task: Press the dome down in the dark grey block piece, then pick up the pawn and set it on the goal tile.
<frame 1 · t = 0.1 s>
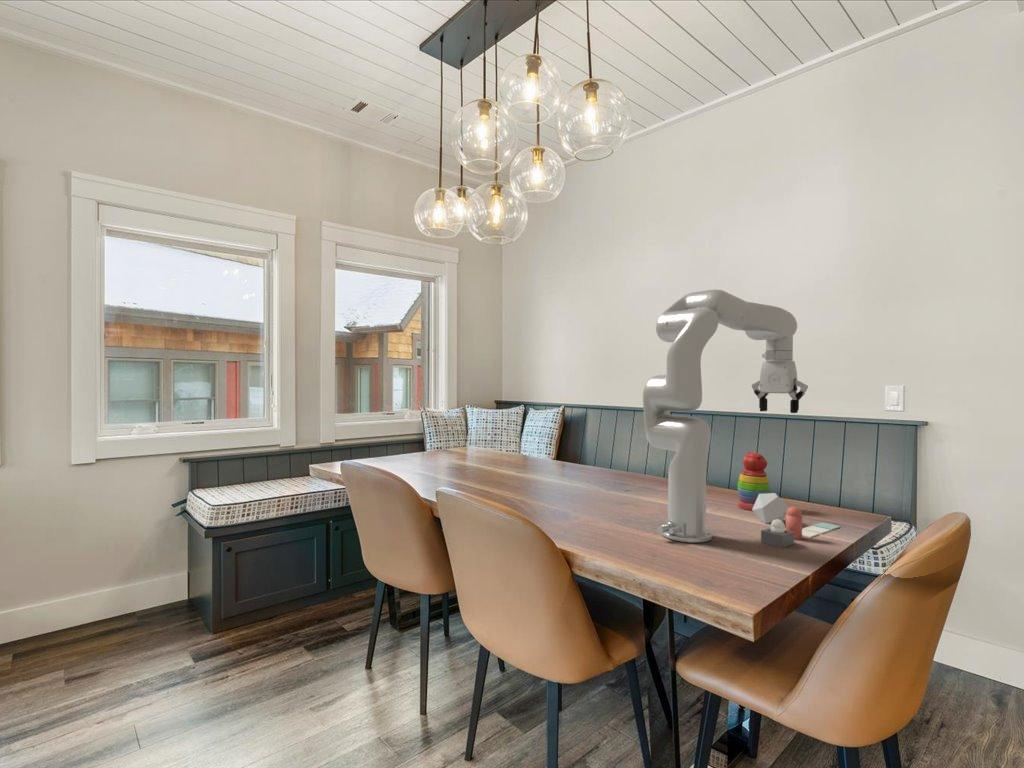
hand: (778, 411, 170), 31 cm above the table, fingers open, 9 cm apart
dark grey block piece: (777, 543, 139), on the table
goal tile: (826, 526, 154), on the table
track: (810, 532, 149), on the table
stacking bear: (754, 508, 176), on the table
pawn: (793, 537, 143), on the table
die: (770, 522, 159), on the table
dome: (777, 526, 139), point 4 cm above the table, slide at 0.0 cm
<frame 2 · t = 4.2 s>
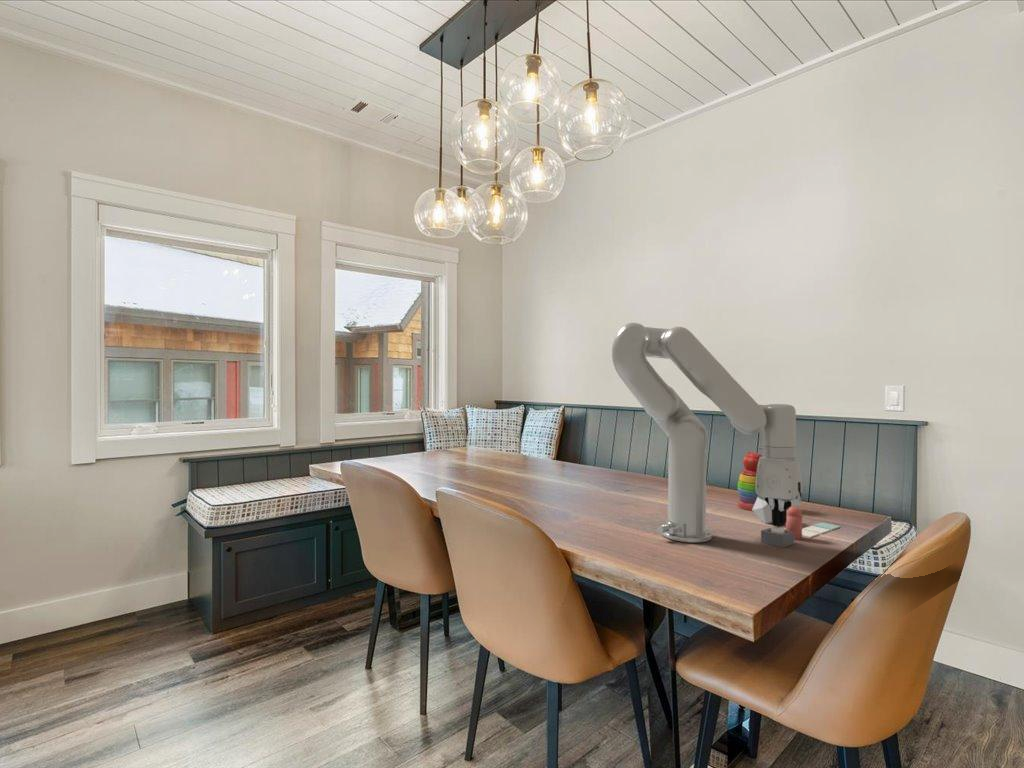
hand: (779, 525, 138), 5 cm above the table, fingers closed
dome: (777, 532, 139), point 3 cm above the table, slide at 1.4 cm
everything else where it was.
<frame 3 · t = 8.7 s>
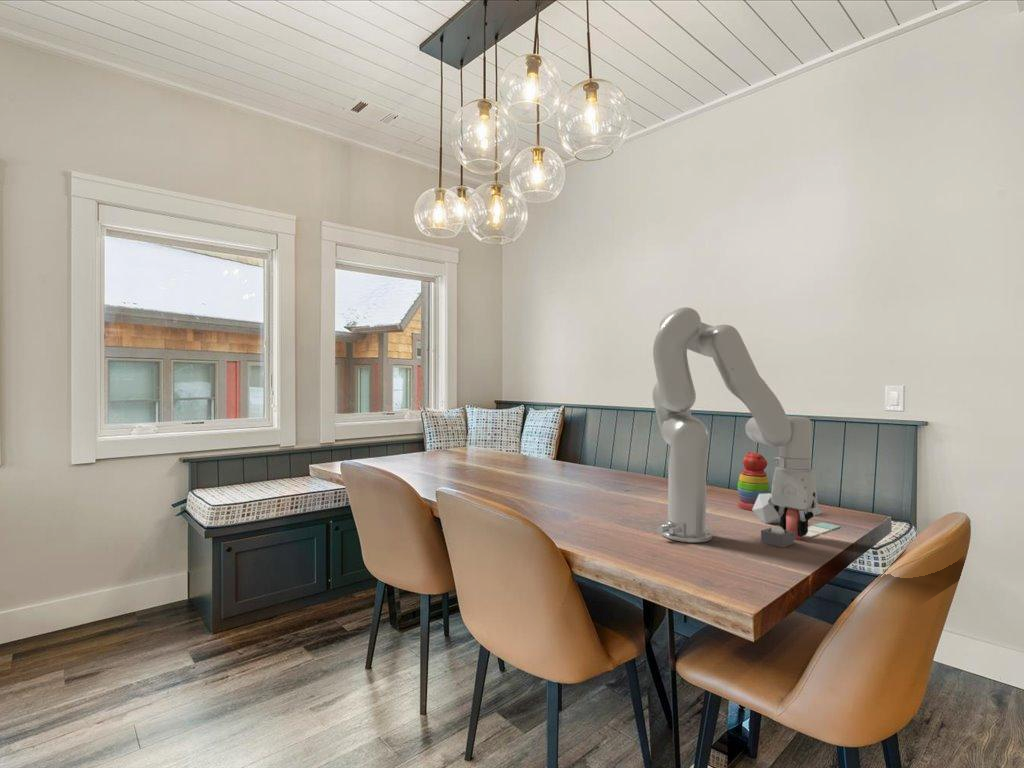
hand: (793, 532, 143), 1 cm above the table, fingers closed on pawn, 3 cm apart
pawn: (793, 537, 143), on the table, touching gripper
everything else where it was.
when the fingers open (2 cm above the table, at t = 14.0 s): pawn stays where it is, resting on goal tile.
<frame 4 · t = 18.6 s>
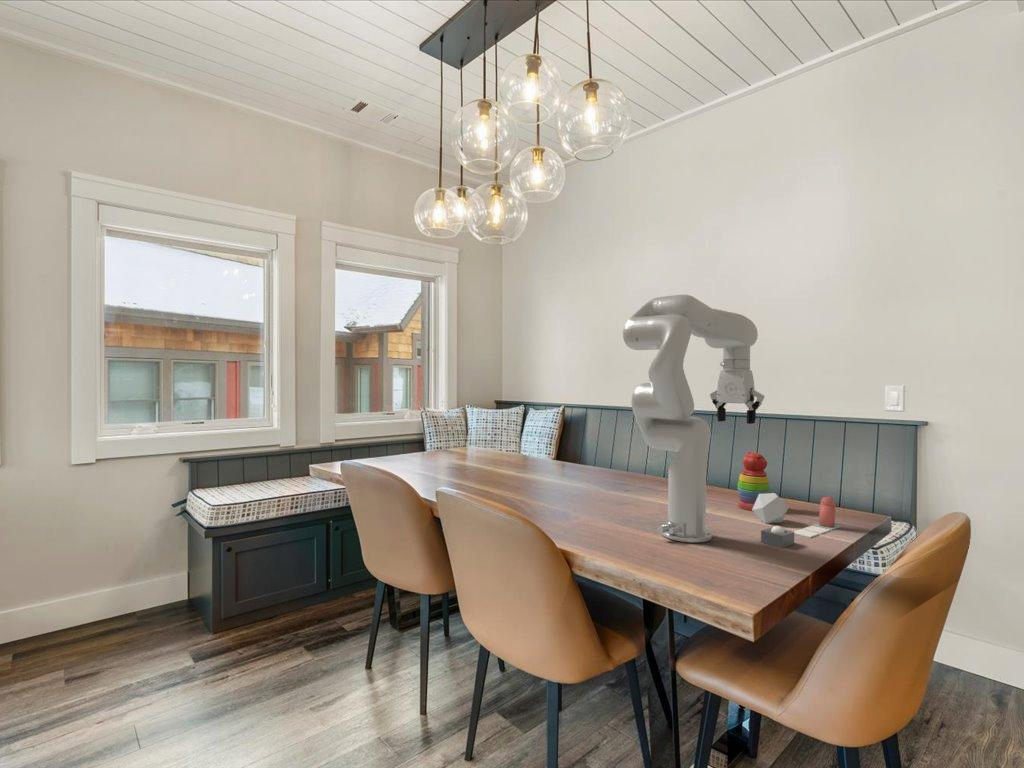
hand: (735, 422, 165), 28 cm above the table, fingers open, 9 cm apart
pawn: (826, 525, 154), resting on goal tile
everything else where it was.
at the end: pawn 0.1 cm off-centre on the goal tile, point 0.4 cm above the goal tile's base; pawn tilted 2°; dome slide at 1.7 cm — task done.
